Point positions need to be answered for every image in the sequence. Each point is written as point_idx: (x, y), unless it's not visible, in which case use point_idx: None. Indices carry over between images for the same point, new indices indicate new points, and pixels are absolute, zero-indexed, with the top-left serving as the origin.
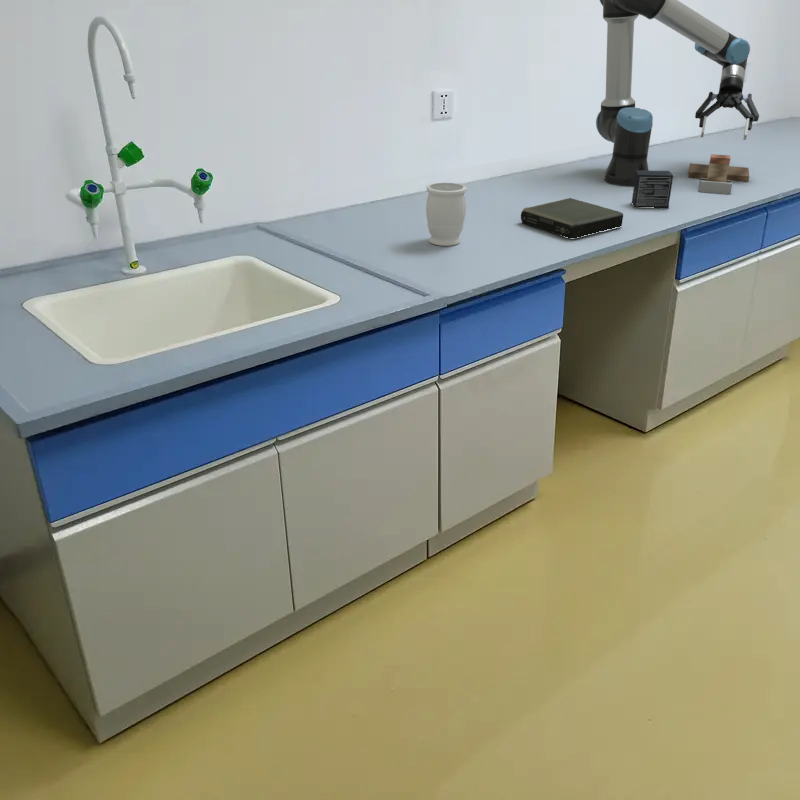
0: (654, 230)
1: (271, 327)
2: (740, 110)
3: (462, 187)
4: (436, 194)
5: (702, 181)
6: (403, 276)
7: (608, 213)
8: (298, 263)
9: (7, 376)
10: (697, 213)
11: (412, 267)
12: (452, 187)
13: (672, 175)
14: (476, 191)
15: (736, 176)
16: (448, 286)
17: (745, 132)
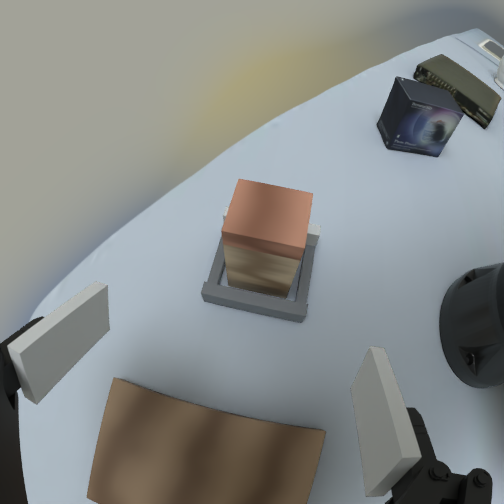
0: (377, 67)
1: (478, 39)
2: (15, 490)
3: None
4: None
5: (314, 224)
6: (480, 55)
7: (431, 64)
8: None
9: (499, 43)
10: (327, 105)
11: (485, 62)
12: None
13: (396, 77)
14: None
15: (153, 392)
16: (455, 41)
17: (94, 292)
